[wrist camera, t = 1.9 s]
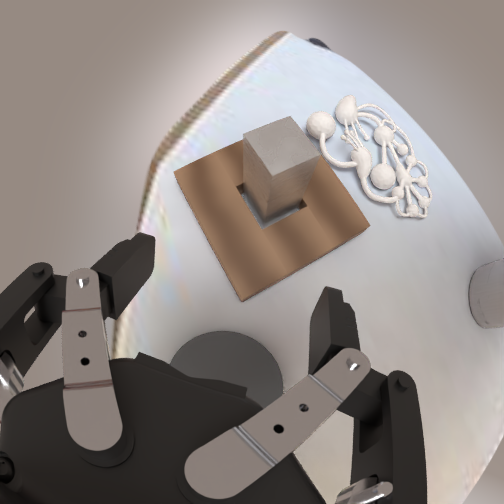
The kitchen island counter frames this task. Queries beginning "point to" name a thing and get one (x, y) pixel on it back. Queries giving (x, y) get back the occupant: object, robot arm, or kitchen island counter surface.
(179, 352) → the rubber pad
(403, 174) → the tangled rod sculpture
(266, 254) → the socket block
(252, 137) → the steel peg
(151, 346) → the kitchen island counter surface
